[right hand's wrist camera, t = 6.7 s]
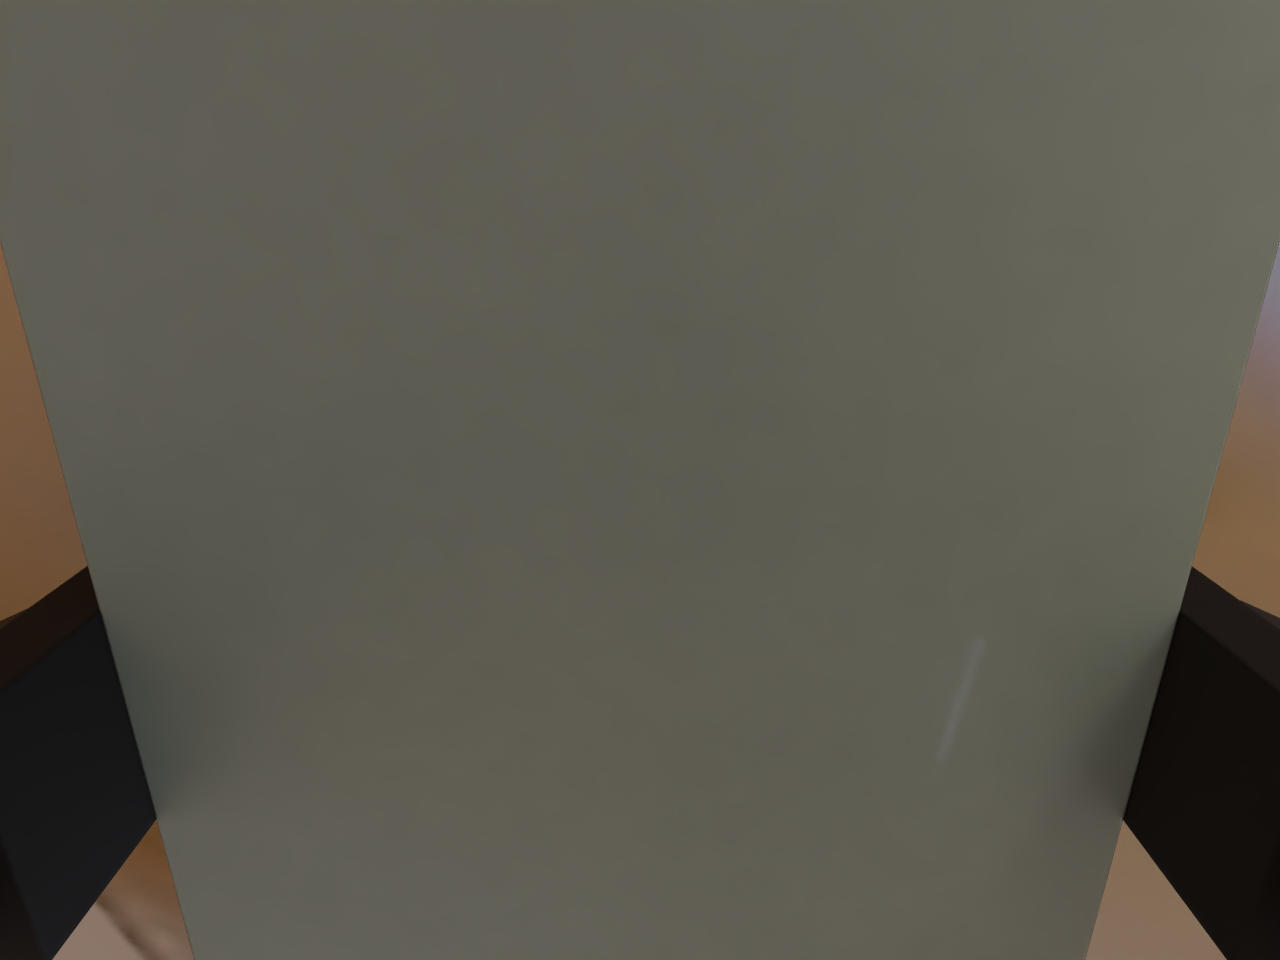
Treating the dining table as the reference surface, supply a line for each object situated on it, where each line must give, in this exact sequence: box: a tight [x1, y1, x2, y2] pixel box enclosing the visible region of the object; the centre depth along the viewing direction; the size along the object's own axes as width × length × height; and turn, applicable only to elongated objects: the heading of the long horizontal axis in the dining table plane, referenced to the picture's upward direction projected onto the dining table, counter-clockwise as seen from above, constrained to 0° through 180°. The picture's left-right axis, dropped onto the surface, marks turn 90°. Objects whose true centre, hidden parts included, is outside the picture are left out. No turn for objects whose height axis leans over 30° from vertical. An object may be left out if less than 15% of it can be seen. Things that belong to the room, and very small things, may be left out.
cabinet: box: [0, 0, 1280, 960], centre depth 12 cm, size 18×11×10 cm, turn 0°
